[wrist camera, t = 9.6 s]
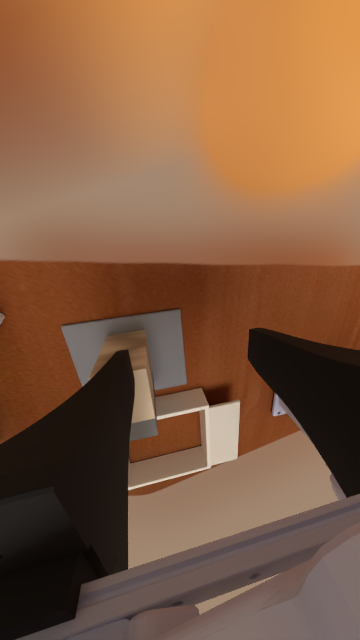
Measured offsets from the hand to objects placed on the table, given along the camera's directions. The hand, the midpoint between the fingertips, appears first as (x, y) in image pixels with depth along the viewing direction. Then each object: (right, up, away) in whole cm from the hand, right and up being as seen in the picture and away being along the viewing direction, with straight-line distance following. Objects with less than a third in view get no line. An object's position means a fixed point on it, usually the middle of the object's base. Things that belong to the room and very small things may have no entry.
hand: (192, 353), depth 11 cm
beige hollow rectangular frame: (-3, -14, +15) cm, 21 cm away
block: (-6, -3, +10) cm, 12 cm away
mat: (-6, -2, +10) cm, 12 cm away
